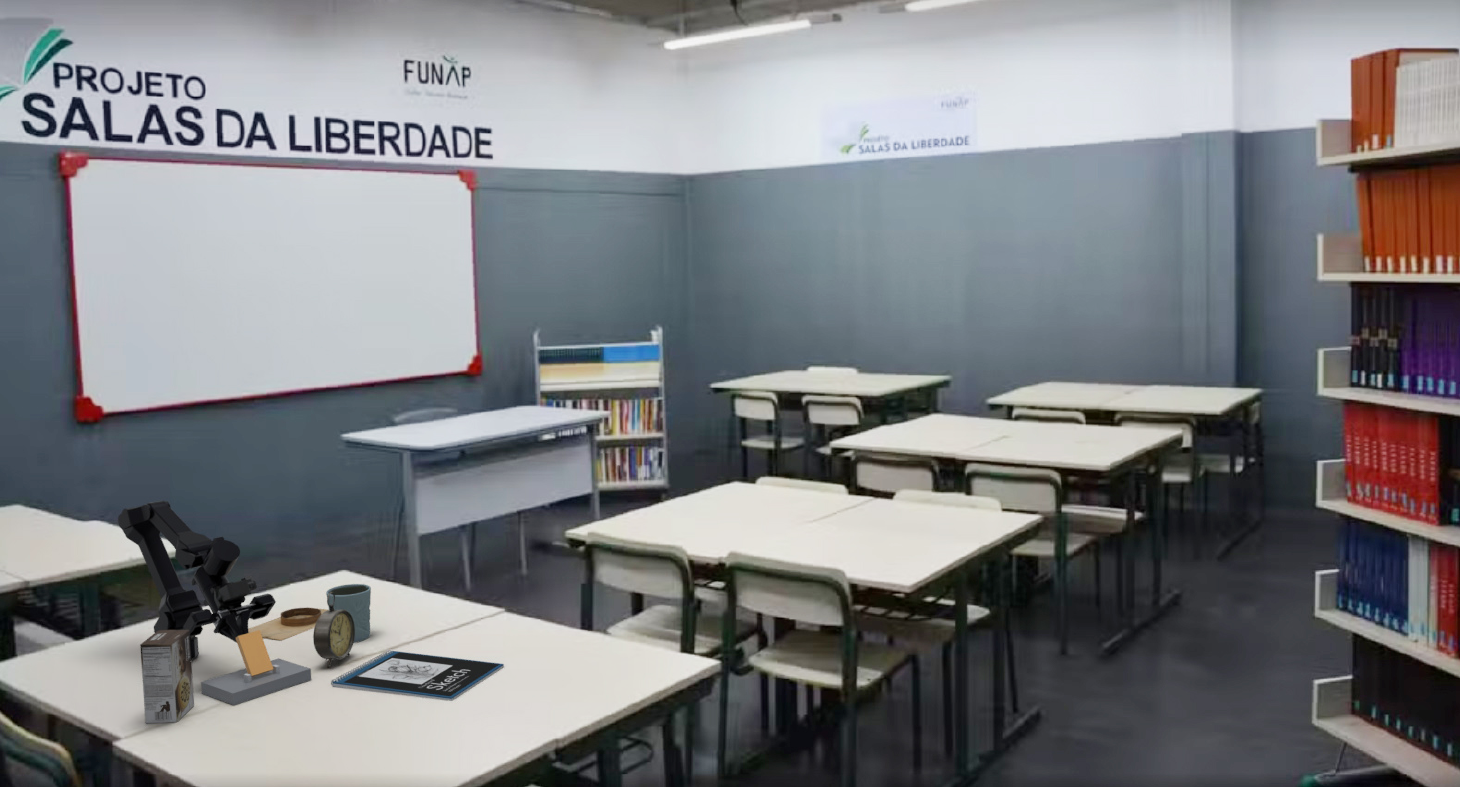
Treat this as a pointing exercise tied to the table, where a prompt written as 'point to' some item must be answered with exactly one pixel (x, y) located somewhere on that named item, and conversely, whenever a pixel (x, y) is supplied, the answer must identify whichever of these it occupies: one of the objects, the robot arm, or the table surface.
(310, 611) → the board
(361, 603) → the blue-grey cylinder
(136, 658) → the table surface
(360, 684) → the sketchbook
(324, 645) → the alarm clock
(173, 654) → the coffee box
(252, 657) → the orange foam slab
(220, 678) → the switch panel
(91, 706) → the table surface
